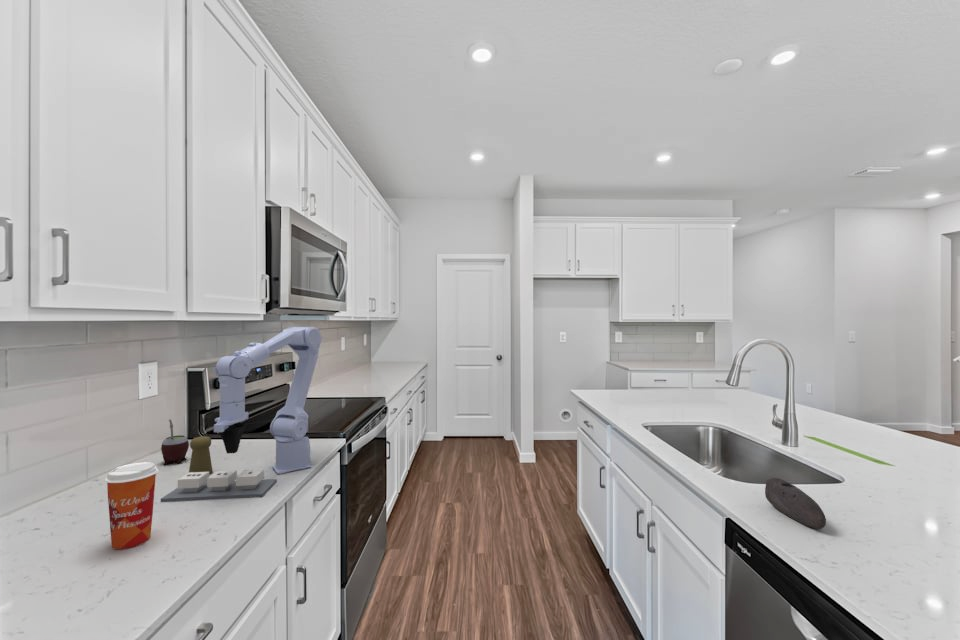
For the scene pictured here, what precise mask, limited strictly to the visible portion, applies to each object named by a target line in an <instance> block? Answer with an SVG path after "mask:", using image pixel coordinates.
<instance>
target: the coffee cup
mask: <svg viewBox="0 0 960 640" xmlns="http://www.w3.org/2000/svg"><path fill="white" fill-rule="evenodd" d="M159 471H160V470H159V469H158V468H157V466H156V465H155V463H153V462H151V461H149V462H147V461H145V462H144V461H143V462H135V463H134V462H133V463H129V464H125V465H120V466H117V467H115V468H113V469H112V470H111V471H109V472H108V473H107V476H106V478H105V479H104V482H105V483H107V484H106V485H107V488H106V489H107V501H108V502H107V504H108V515H109V516H108V517H109V529H110V531H109V532H110V541H111V543H110V544H111V547H112V549H113V550H116V551H117V550H121V551H122V550H129V549H131V548H135V547H138V546H141V545H143V544H144V543H146V542H147V541H149V540H150V538H151V533H152V525H153V513H154V503H155V502H154V501H155V487H156V475H157V474H158V473H159Z"/></svg>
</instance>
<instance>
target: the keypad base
mask: <svg viewBox="0 0 960 640" xmlns="http://www.w3.org/2000/svg"><path fill="white" fill-rule="evenodd" d="M277 482H278V478H270V479H267V478H266V479H264V478H263V479H262V480H261V481H260V482H259V483H258V484H257V485H245V486H236V480H235V481H234V482H232V483H231V484H230V485H229V486H224V487H207V482H206V483H205V484H203V485H202V486H200V487H199V488H180V489H178V487H176V488H175V489H173V490H172V491H170V492H169V493H167V494H166V495H164V496H163V497H161V498H160V503H165V502H166V503H167V502H186V501H187V502H188V501H209V500H210V501H211V500H228V499H246V498H247V499H248V498H251V499H252V498H262V497H264V496H265V495H266V494H267V493H268V492H269V491H270V490H271V489H272V488H273V487H274V486H275V484H276V483H277Z"/></svg>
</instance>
